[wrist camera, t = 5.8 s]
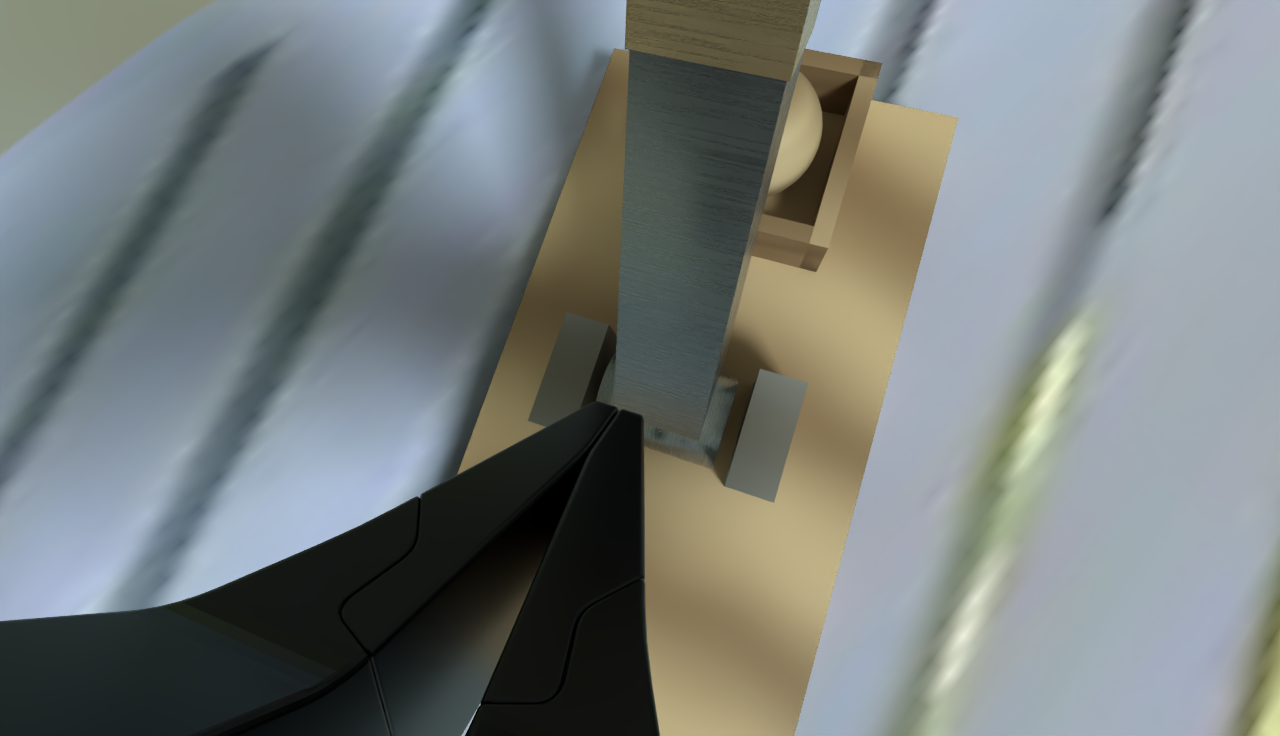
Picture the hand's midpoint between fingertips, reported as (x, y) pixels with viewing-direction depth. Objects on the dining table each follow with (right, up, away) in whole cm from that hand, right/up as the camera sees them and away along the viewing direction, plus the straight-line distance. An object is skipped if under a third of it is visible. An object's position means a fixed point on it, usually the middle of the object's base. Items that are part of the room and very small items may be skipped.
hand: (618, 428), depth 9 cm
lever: (+2, 0, +7) cm, 8 cm away
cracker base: (+2, 0, +9) cm, 9 cm away
